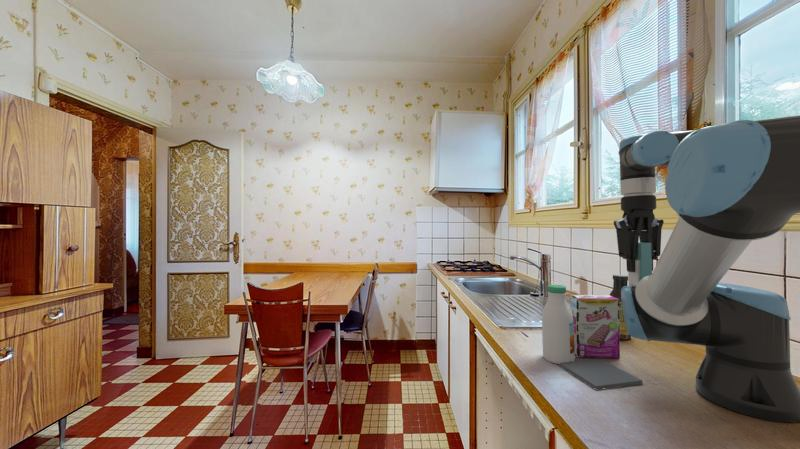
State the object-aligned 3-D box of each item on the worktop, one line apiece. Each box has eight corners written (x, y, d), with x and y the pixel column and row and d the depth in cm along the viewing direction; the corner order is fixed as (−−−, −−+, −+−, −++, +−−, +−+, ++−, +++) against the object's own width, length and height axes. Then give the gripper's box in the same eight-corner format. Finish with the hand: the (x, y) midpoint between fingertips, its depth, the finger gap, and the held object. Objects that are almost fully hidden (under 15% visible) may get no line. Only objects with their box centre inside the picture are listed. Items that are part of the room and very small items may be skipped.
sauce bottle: (613, 339, 98) (611, 276, 99) (605, 333, 104) (603, 273, 105) (637, 341, 97) (635, 276, 97) (627, 334, 103) (625, 273, 103)
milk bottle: (564, 368, 80) (562, 289, 80) (537, 358, 87) (535, 285, 87) (580, 360, 84) (578, 286, 85) (552, 351, 91) (551, 282, 91)
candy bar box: (578, 358, 86) (576, 298, 86) (570, 351, 91) (568, 294, 91) (621, 359, 85) (620, 298, 85) (611, 351, 90) (609, 294, 90)
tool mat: (642, 383, 72) (642, 380, 72) (596, 389, 69) (596, 386, 70) (600, 361, 83) (600, 358, 83) (559, 366, 81) (559, 363, 81)
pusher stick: (652, 296, 82) (651, 242, 82) (642, 297, 81) (641, 243, 81) (638, 293, 86) (637, 242, 86) (629, 294, 85) (627, 242, 85)
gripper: (650, 196, 89) (652, 280, 88) (600, 197, 86) (602, 283, 86) (677, 193, 81) (680, 284, 81) (624, 194, 78) (626, 288, 78)
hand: (640, 283), depth 83 cm, fingers closed on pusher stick, 3 cm apart
